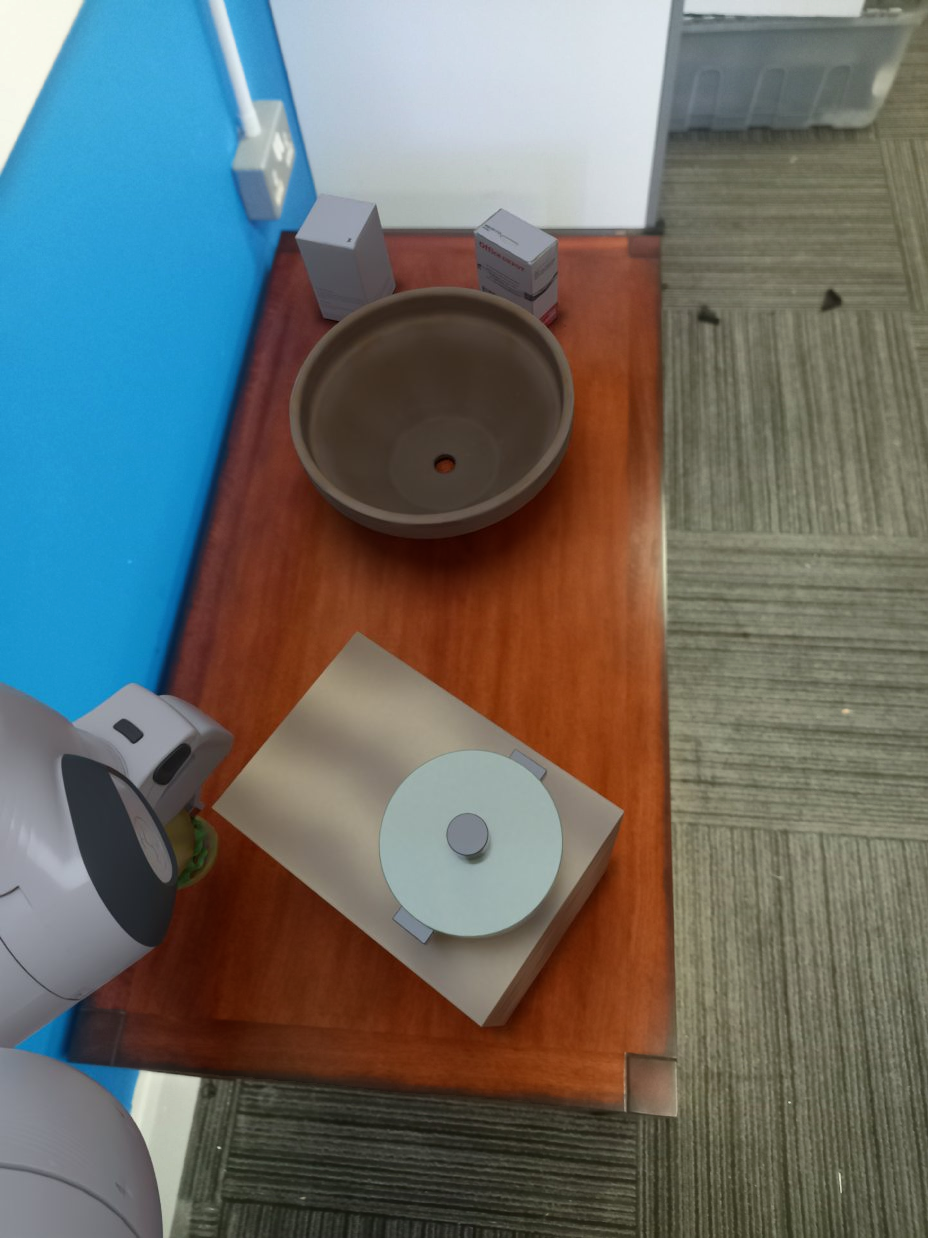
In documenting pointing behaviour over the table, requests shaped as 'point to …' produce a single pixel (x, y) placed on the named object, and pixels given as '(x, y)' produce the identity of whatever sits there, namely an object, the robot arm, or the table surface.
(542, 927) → the stand
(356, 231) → the white packaging box
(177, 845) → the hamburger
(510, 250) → the ink box
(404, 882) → the pot
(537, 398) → the flower pot
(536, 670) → the table surface
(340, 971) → the table surface
